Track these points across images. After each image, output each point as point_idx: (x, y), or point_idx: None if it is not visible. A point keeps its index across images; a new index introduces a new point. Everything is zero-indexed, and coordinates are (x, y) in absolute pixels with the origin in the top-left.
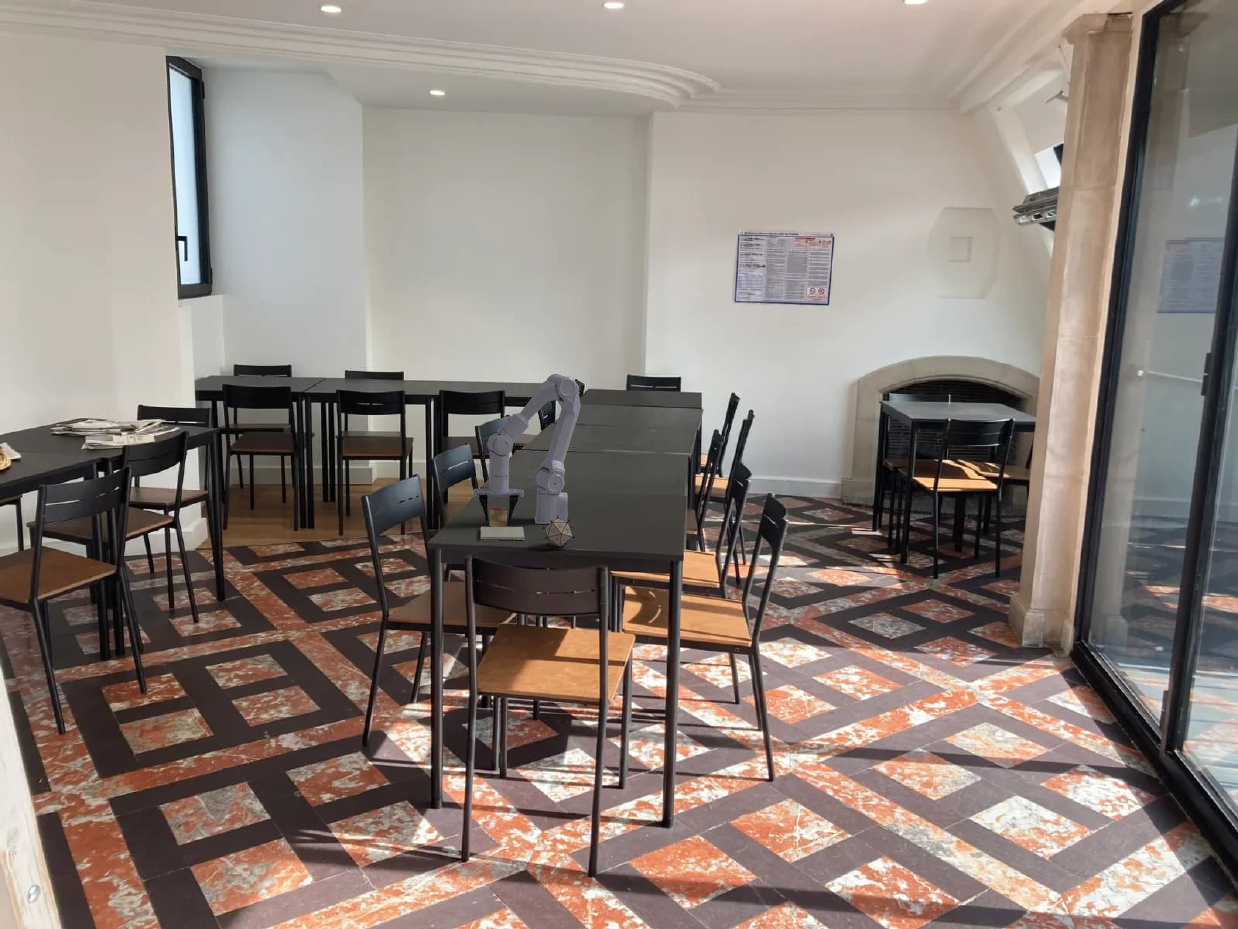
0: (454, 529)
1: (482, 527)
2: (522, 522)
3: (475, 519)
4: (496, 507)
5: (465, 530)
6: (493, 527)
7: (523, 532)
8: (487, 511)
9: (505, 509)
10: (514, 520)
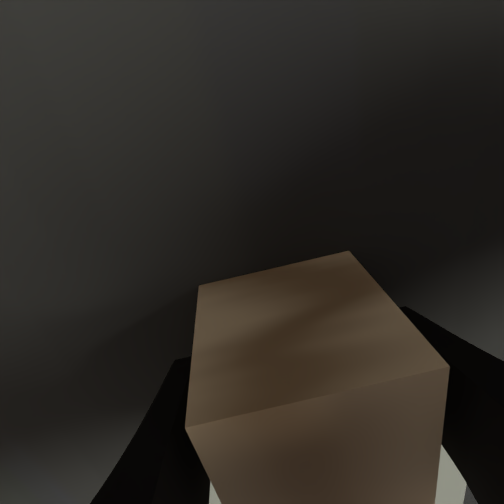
0: (25, 483)
1: (212, 489)
2: (495, 193)
3: (5, 196)
4: (294, 432)
5: (105, 480)
6: None
7: (463, 494)
8: (199, 488)
9: (419, 469)
10: (426, 131)
